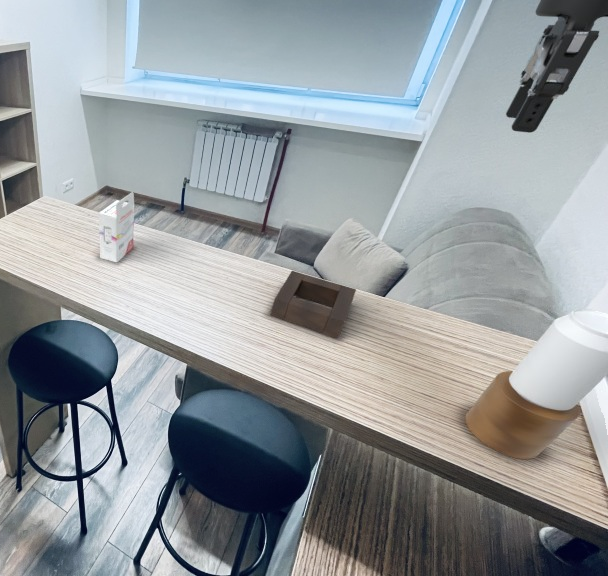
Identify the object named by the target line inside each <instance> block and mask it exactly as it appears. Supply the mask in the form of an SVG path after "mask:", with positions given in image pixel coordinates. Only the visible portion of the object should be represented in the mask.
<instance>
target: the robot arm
mask: <svg viewBox="0 0 608 576" xmlns="http://www.w3.org/2000/svg"><path fill="white" fill-rule="evenodd" d="M535 15H536V16H537V17H545V18H546V17H547V18H548V17H549V18H557V20H556V21H555V23H554V24H548V25H547V27H545V28H544V30H543V32H542V34H541V36H540V37H539V39H538V40H537V42H536V44H535V48H534V49H533V52H532V54H531V55H530V57H529V59H528V60H527V63H526V65H525V68H524V70H522V72H521V74H520V75H521V76H520V80H519V85H520V86H519V87H518V90H517V91H516V93H515V95H514V96H513V99H512V101H511V102H510V104H509V107H508V108H507V110H506V112H505V115H506V117H507V118H509V119H510V118H511V119H514V120H513V123H512V124H511V130H512V131H514V132H518V133H519V132H520V133H534V132H535V131H537V129H538V128H539V126H540V125H541V123H542V121H543V119H544V118H545V115H546V114H547V112H548V111H549V108H550V107H551V105H552V104H553V102H554V101H555V99H558V98H559V96H563V95H564V94H565V93H566V92H568V91H569V88H570V85H571V83H572V81H573V80H574V78H575V76H576V74H577V73H578V71H579V69H580V68H581V66H582V64H583V62H584V60H585V59H586V57H587V55H588V54H589V52H590V50H591V48H592V47H593V45H594V43H595V42H596V41H597V40H598V38H599V37H600V30H592V29H593V27H594V26H595V22H596V21H597V20H598V19H601V18H608V0H540V1H539V3H538V5H537V7H536V9H535Z"/></svg>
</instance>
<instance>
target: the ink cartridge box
mask: <svg viewBox="0 0 608 576" xmlns="http://www.w3.org/2000/svg"><path fill="white" fill-rule="evenodd" d="M134 230H135V193H134V191H131V192H130V193H128V194H127V195H125V196H124V197H123V198H121V199H120V200H118V199H116V200H115V201H113V202H112V203H111V204H109V205H108V206H106V207H105V208H103V210H101V211H99V212H98V231H99V258H100V259H102V260H105V261H109V262H112V263H113V262H114V263H119V262H120V261H121V260H122V259H123V258H124V257H125V256H126V255H127V254H128V253H129V252H130V251H131V250H132V249H133V248H134V236H135V235H134V232H135V231H134Z"/></svg>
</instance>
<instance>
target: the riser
mask: <svg viewBox="0 0 608 576" xmlns="http://www.w3.org/2000/svg"><path fill="white" fill-rule="evenodd" d="M513 371H514V370H506V371H502V372H499V373H497V375H496V376H495V377H494V379H493V380H492V381H491V382H490V383H489V385H487V387H486V389H485V390H484V391H483V393H482V394H481V395H480V396H479V397H478V399H477V400H476V401H475V402H474V404H473V405H472V406H471V408H469V410H468V411H467V412H466V414H465V417H464V420H465V421H464V422H465V424H466V426H467V428H468V430H469V431H470V432H471V433H472V434H473V436H474V437H475V438H477V439H478V440H479V441H480V442H481V443H483V444H484V445H486V446H487V447H489V448H490V449H492V450H494V451H496V452H498V453H500V454H502V455H505V456H508V457H511V458H514V459H520V460H532V459H535V458H537V457H538V456H539V455H541V453H542V452H544V451H545V450H546V448H548V447H549V446H550V445H551V444H552V443H553V442H554V441H555V440H557V438H558V437H559V436H560V435H561V434H563V432H564V431H565V430H567V428H569V426H571V425H572V424H573V423H574V422H575V421H576V420H577V419H578V418H579V417H580V415H581V409H580V407H579V404H577V405H575V406H574V407H573V408H572V409H569V410H554V409H549V408H544V407H540V406H538V405H535V404H533V403H531V402H529V401H527V400H526V399H524V398H523V397H521V396H520V395H519V394H518V393H517V392H516V391H515V390H514V388H513V387H512V386H511V384H510V382H509V377H510V375H511V373H512V372H513Z"/></svg>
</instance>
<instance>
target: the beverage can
mask: <svg viewBox="0 0 608 576" xmlns="http://www.w3.org/2000/svg"><path fill="white" fill-rule="evenodd" d="M512 371H513V372H512V373H511V375H510V377H509V382H510V384H511V386H512V387H513V388H514V390H515V391H516V392H517V393H518V394H519V395H520V396H521V397H523V398H524V399H526V400H527V401H529V402H531V403H533V404H535V405H538V406H540V407H544V408H549V409H554V410H569V409H572V408H573V407H574V406H575V405H579V404H578V403H580V402H581V401H582V400H583V399H584V398H585V397H586V396H587V395H589V394H590V392H592V390H594V388H595V387H596V386H597V385H598V384H599V383H601V381H602V380H604V379H605V377H607V375H608V313H607V312H603V311H600V310H596V309H591V308H574V309H573V310H572V311H571V312H570V313H567V314H564V315H561V316H560V317H557V318H555V319H554V320H553V322H552V323H551V324H550V325H549V326H548V327H547V329H546V330H544V332H543V333H542V335H541V336H540V337H539V339H537V341H536V342H535V344H533V346H532V347H531V349H530V350H529V351H528V352H527V354H526V355H525V356H523V358H522V359H521V361H520V362H519V363H518V365H517V366H516V367H515V368H514V369H513V370H512Z"/></svg>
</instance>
